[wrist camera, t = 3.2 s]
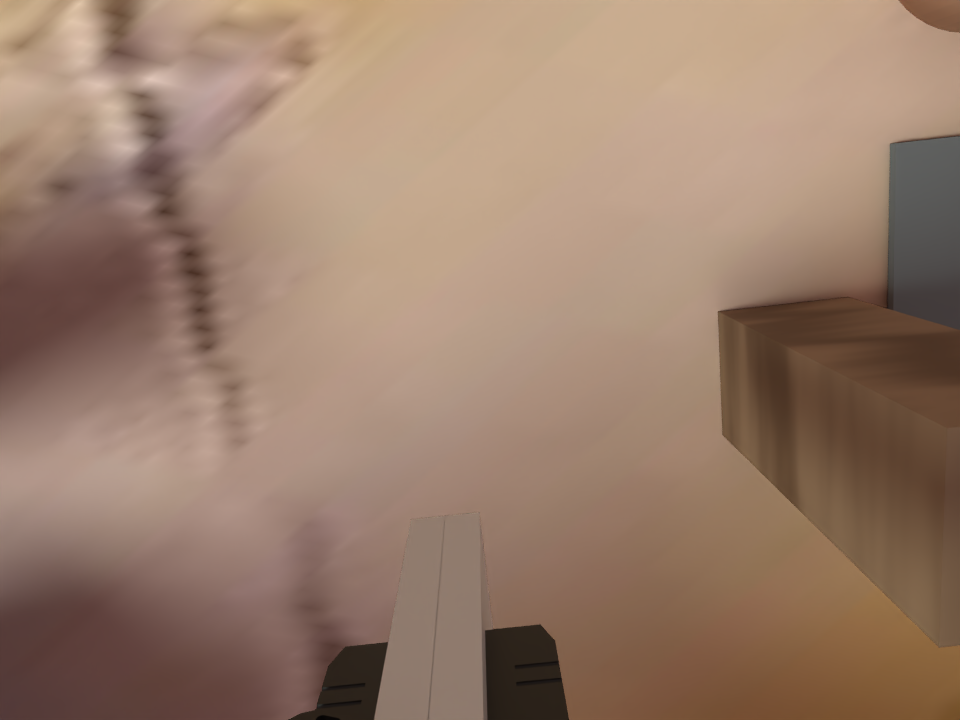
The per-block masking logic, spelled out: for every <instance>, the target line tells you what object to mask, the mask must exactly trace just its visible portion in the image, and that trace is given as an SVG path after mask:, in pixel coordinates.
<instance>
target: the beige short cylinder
mask: <svg viewBox="0 0 960 720" xmlns="http://www.w3.org/2000/svg"><path fill="white" fill-rule="evenodd" d="M899 1H900V2H901V3H902V5H903V6H904V7H905V8H906V9H907V10H908V11H909V12H910V13H912V14H913V15H914V16H915V17H916V18H918V19H920V20H921V21H923V22H925V23H926V24H928V25H931V26H933V27H936V28H938V29H942V30H946V31H950V32H959V33H960V0H899Z"/></svg>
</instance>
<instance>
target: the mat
mask: <svg viewBox="0 0 960 720" xmlns="http://www.w3.org/2000/svg"><path fill="white" fill-rule="evenodd" d="M888 309H890V310H894V311H897V312H900V313H904V314H907V315H911V316H914V317H917V318H921V319H924V320H927V321H931V322H934V323H937V324H941V325H944V326H948V327H951V328H954V329H958V330H960V136H955V137H946V138H938V139H929V140H920V141H911V142H902V143H893V144H890V187H889V248H888Z"/></svg>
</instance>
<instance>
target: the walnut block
mask: <svg viewBox="0 0 960 720" xmlns="http://www.w3.org/2000/svg"><path fill="white" fill-rule="evenodd" d="M718 325H719V352H720V379H721V406H722V433H723V436H724V437H725V438H726V439H727V440H728V441H729V442H730V443H731V444H732V445H733V446H734V447H735V448H736V449H737V450H738V451H740V452H741V453H742V454H743V455H744V456H745V457H746V458H747V459H748V460H749V461H750V462H751V463H752V464H753V465H754V466H755V467H756V468H757V469H758V470H759V471H760V472H761V473H762V474H763V475H764V476H765V477H766V478H767V479H768V480H769V481H770V482H771V483H772V484H773V485H774V486H775V487H776V488H777V489H778V490H779V491H780V492H781V493H782V494H783V495H784V496H785V497H786V498H787V499H788V500H789V501H790V502H791V503H792V504H793V505H794V506H796V507H797V508H798V509H799V510H800V511H801V512H802V513H803V514H804V515H805V516H806V517H807V518H808V519H809V520H810V521H811V522H812V523H813V524H814V525H815V526H816V527H817V528H818V529H819V530H820V531H821V532H822V533H823V534H824V535H825V536H826V537H827V538H828V539H829V540H830V541H831V542H832V543H833V544H834V545H835V546H836V547H837V548H838V549H839V550H840V551H841V552H842V553H843V554H844V555H845V556H846V557H847V558H848V559H849V560H850V561H852V562H853V563H854V564H855V565H856V566H857V567H858V568H859V569H860V570H861V571H862V572H863V573H864V574H865V575H866V576H867V577H868V578H869V579H870V580H871V581H872V582H873V583H874V584H875V585H876V586H877V587H878V588H879V589H880V590H881V591H882V592H883V593H884V594H885V595H886V596H887V597H888V598H889V599H890V600H891V601H892V602H893V603H894V604H895V605H896V606H897V607H898V608H899V609H900V610H901V611H902V612H903V613H904V614H905V615H906V616H908V617H909V618H910V619H911V620H912V621H913V622H914V623H915V624H916V625H917V626H918V627H919V628H920V629H921V630H922V631H923V632H924V633H925V634H926V635H927V636H928V637H929V638H930V639H931V640H932V641H933V642H934V643H935V644H936V645H937V646H938V647H949V646H958V645H960V330H958V329H954V328H951V327H948V326H944V325H941V324H937V323H934V322H931V321H927V320H924V319H921V318H917V317H914V316H911V315H907V314H904V313H900V312H897V311H894V310H890V309H887V308H884V307H880V306H877V305H873V304H870V303H867V302H863V301H860V300H857V299H853V298H850V297H844V298H835V299H826V300H817V301H808V302H800V303H791V304H782V305H773V306H764V307H755V308H746V309H737V310H728V311H719V312H718Z"/></svg>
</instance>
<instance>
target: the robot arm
mask: <svg viewBox="0 0 960 720" xmlns="http://www.w3.org/2000/svg"><path fill="white" fill-rule="evenodd" d="M289 720H569V717H568V712H567V706H566V700H565V695H564V689H563V684H562V678H561V672H560V667H559V661H558V655H557V650H556V644H555V640H554V639H553V638H552V637H551V636H550V635H549V634H548V633H547V631H546V630H545V629H544V628H543V627H542V626H541V625H531V626H521V627H512V628H502V629H493V622H492V613H491V605H490V596H489V588H488V580H487V571H486V563H485V555H484V546H483V538H482V529H481V521H480V513H479V512H476V513H466V514H457V515H447V516H438V517H428V518H419V519H411V521H410V527H409V532H408V538H407V543H406V548H405V554H404V559H403V565H402V570H401V576H400V581H399V586H398V592H397V597H396V603H395V608H394V614H393V619H392V625H391V630H390V635H389V641H388V642H386V643H376V644H367V645H357V646H347V647H345V648H344V649H343V650H342V651H341V652H340V653H339V654H338V656H337V657H336V658H335V659H334V660H333V661H332V663H331V664H330V665H329V666H328V669H327V672H326V676H325V679H324V682H323V686H322V691H321V693H320V696H319V699H318V703H317V709H315V710H314V711H310V712H305V713H301V714H299V715H297V716H295V717H293V718H291V719H289Z"/></svg>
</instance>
